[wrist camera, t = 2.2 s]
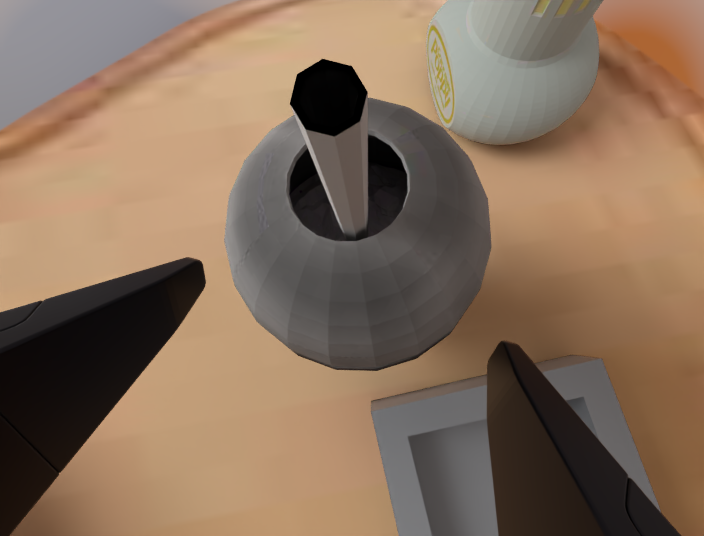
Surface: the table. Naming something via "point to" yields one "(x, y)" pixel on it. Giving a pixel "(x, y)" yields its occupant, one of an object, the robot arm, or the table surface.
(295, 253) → the beverage cup
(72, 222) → the table surface
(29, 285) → the table surface
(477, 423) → the tray
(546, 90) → the air freshener
